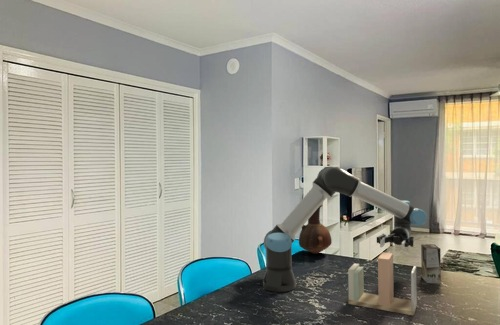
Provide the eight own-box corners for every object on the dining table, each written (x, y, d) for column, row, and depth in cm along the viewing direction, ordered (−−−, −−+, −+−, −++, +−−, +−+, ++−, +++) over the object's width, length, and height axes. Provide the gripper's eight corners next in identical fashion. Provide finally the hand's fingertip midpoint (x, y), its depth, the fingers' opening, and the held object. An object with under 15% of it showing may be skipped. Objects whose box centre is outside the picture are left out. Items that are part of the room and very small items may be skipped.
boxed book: (378, 304, 140) (377, 258, 140) (383, 296, 148) (382, 252, 148) (389, 306, 138) (388, 259, 138) (393, 297, 146) (392, 253, 146)
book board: (348, 303, 145) (348, 299, 145) (355, 294, 155) (355, 291, 155) (413, 315, 133) (413, 311, 133) (416, 305, 143) (416, 301, 143)
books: (348, 299, 146) (348, 269, 145) (354, 291, 154) (354, 263, 154) (358, 301, 144) (357, 271, 144) (363, 292, 152) (363, 264, 152)
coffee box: (441, 283, 166) (441, 248, 166) (426, 283, 167) (425, 248, 167) (435, 277, 175) (435, 244, 175) (421, 276, 176) (420, 243, 176)
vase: (292, 250, 232) (292, 203, 232) (321, 247, 237) (320, 202, 237) (307, 260, 208) (307, 208, 208) (339, 257, 213) (338, 206, 213)
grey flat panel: (411, 310, 134) (411, 272, 134) (414, 301, 143) (413, 265, 143) (413, 311, 134) (413, 273, 133) (416, 301, 142) (416, 266, 142)
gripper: (423, 246, 167) (418, 257, 147) (376, 241, 178) (366, 251, 158) (423, 229, 167) (418, 239, 147) (376, 225, 178) (366, 233, 158)
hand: (391, 245), depth 153 cm, fingers open, 8 cm apart
